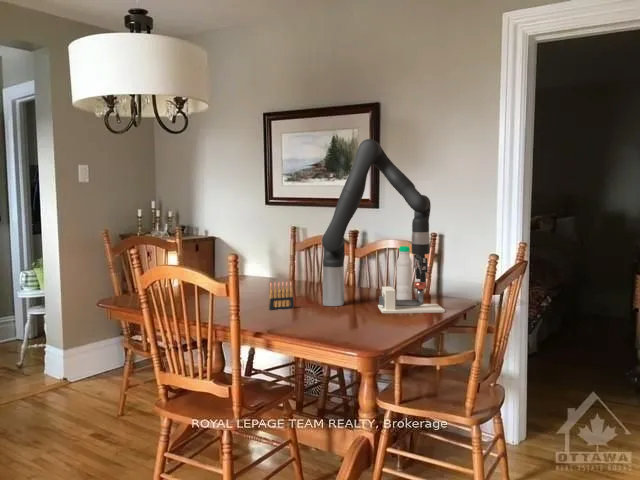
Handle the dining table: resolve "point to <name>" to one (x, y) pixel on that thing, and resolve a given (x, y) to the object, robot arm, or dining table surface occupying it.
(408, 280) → the water bottle
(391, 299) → the cream l-shaped stand
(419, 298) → the ball knob lever
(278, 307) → the ammunition clip
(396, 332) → the dining table surface
